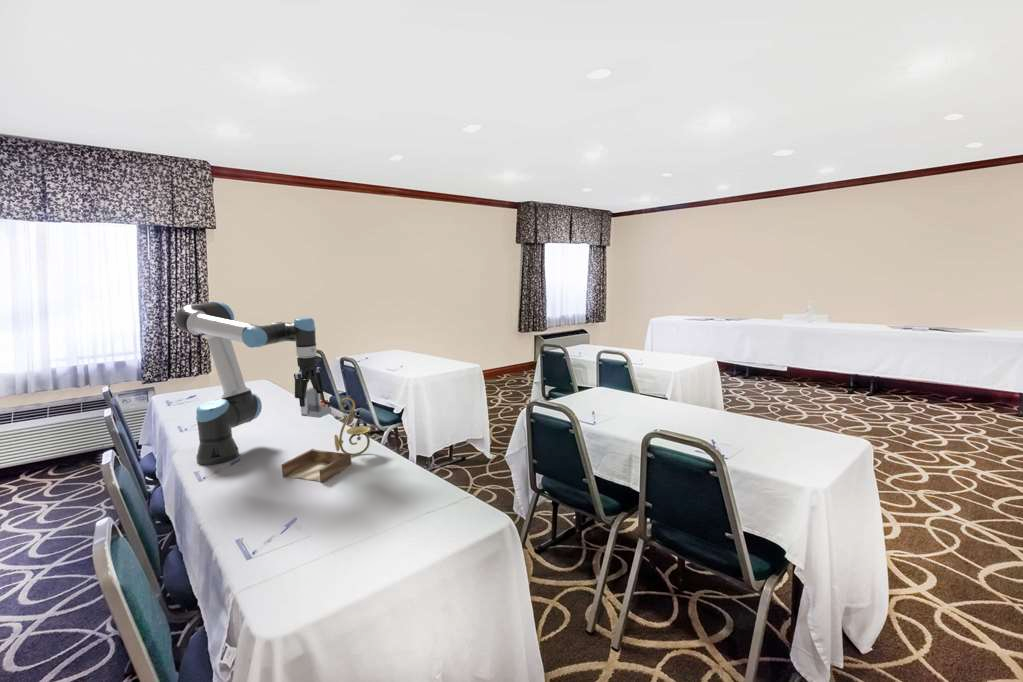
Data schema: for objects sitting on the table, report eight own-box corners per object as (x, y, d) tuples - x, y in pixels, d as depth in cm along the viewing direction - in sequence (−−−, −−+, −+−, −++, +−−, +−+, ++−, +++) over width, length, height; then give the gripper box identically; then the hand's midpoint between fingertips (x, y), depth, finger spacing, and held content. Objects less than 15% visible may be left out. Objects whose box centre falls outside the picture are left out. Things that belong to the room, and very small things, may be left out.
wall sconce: (340, 463, 199) (335, 402, 195) (335, 455, 207) (330, 397, 203) (374, 455, 206) (370, 396, 202) (368, 448, 214) (364, 392, 210)
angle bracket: (301, 415, 203) (299, 391, 201) (313, 410, 209) (311, 387, 208) (319, 417, 200) (317, 393, 198) (331, 412, 206) (329, 389, 205)
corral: (282, 477, 187) (281, 464, 186) (313, 460, 202) (312, 448, 201) (323, 483, 181) (322, 470, 180) (351, 465, 196) (350, 453, 195)
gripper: (296, 361, 191) (301, 419, 195) (331, 352, 210) (334, 405, 213) (281, 360, 193) (285, 417, 197) (316, 351, 212) (320, 403, 216)
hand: (311, 411), depth 205 cm, fingers closed on angle bracket, 7 cm apart
